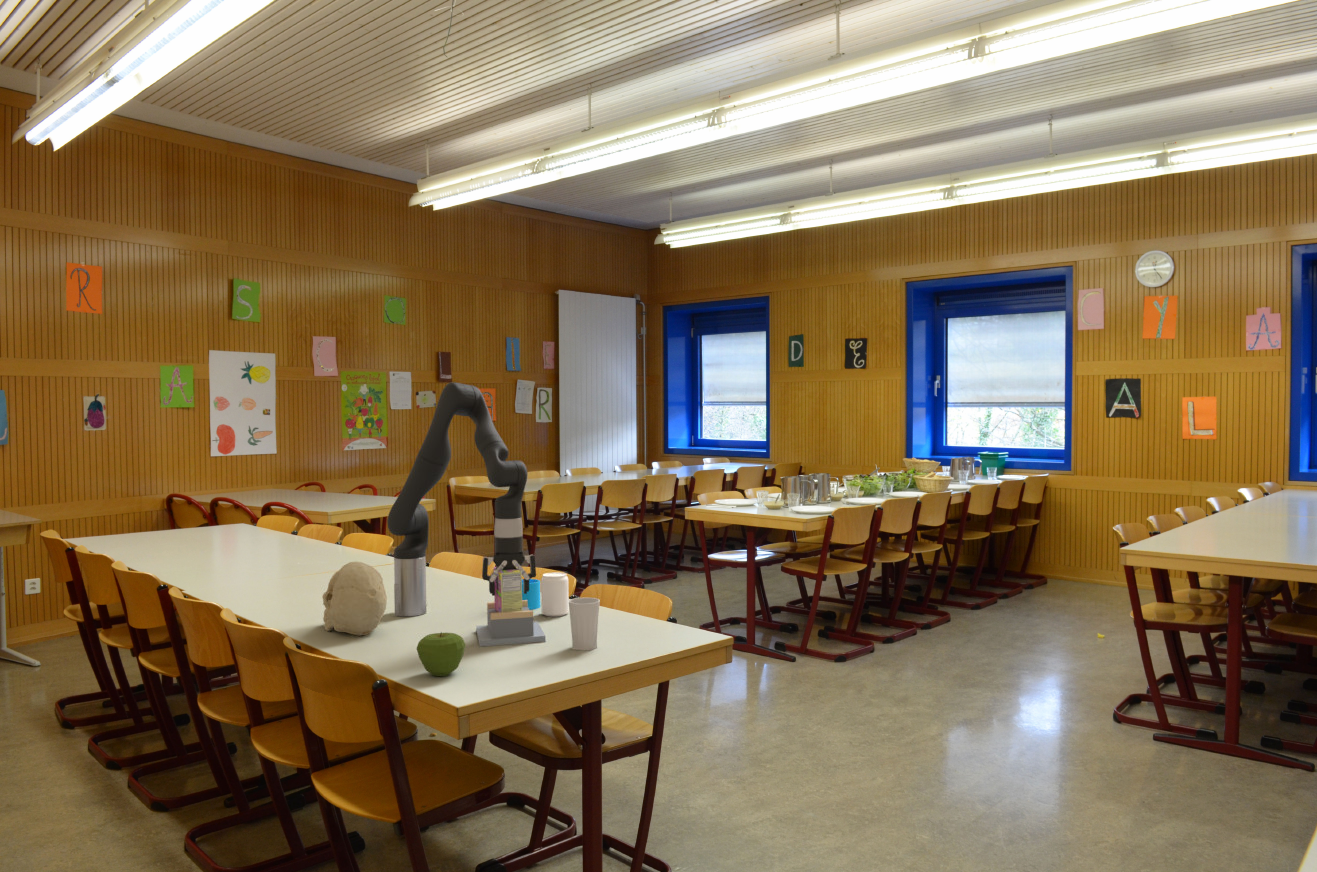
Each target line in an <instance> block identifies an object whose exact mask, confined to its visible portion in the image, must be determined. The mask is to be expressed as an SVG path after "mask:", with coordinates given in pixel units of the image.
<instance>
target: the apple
mask: <svg viewBox="0 0 1317 872" xmlns="http://www.w3.org/2000/svg"><path fill="white" fill-rule="evenodd" d="M465 648H466V643H465V640H464V638H463V637H462V636H461V635H459V634H457V633H454V632H442V631H440V632H436V633H429V634H427V635H425V636H423V638H421V639H420V640H419V641H418V643H417V646H416V651H417V655H418V658H419V660H420V662H421V664H422V666H423V667H424V669H425V672H428V673H429V674H431V676H435V677H447V676H449V675H451V674H452V673H453V672H455V671H456V670H457V669H458V667H459V665H460V663H461V662H462V659H463V657H464V654H465V651H466V650H465Z"/></svg>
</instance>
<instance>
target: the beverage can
mask: <svg viewBox="0 0 1317 872" xmlns="http://www.w3.org/2000/svg"><path fill="white" fill-rule="evenodd" d="M567 575H568V574H567V573H566V572H560V571H559V572H557V571H556V572H555V571H554V572H546V573H543V574H542V577H541V580H540V608H541V614H542V615H543V616H546V617H562V616H565V615H567V614H568V613H570V610H569V600H570V598H569V596H570V595H569V577H568V576H567Z"/></svg>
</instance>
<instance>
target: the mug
mask: <svg viewBox="0 0 1317 872" xmlns="http://www.w3.org/2000/svg"><path fill="white" fill-rule="evenodd" d="M523 579H524V578H522V600H527V601H528V608H529V610H530V611H531V610H533V611H534V610H537V609H540V608H541V580H540V579H536V578H531V579H530V580H529V592H527V594H524V589H523Z"/></svg>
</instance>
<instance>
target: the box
mask: <svg viewBox="0 0 1317 872" xmlns="http://www.w3.org/2000/svg"><path fill="white" fill-rule="evenodd" d="M496 567H497V566H494V567H493V570H494V569H495V568H496ZM522 577H523V576H522V572H521V571H520V570H518V569H512V570H502V571H499V570H498V576H497V577H496V579H495V580H494V582H495V596H494V602H495V610H496V611H497V612H498V613H500V612H515V611H522V579H523V578H522Z"/></svg>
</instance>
